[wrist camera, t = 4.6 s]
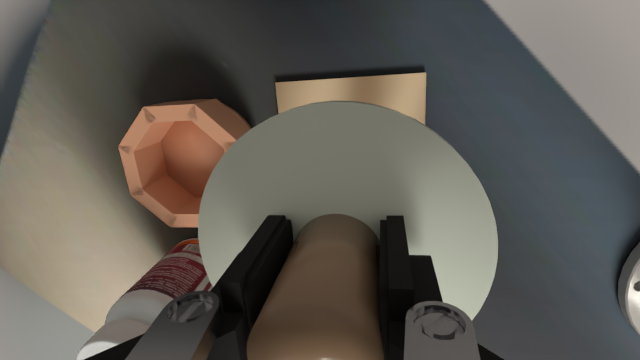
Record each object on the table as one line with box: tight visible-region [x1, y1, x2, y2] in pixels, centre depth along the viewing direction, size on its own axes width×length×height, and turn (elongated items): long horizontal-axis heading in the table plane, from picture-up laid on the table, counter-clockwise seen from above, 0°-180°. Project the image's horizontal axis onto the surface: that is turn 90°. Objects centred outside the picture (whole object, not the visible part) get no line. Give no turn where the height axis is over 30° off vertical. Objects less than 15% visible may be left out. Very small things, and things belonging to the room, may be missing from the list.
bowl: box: [118, 99, 252, 227], centre depth 25 cm, size 8×8×4 cm
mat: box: [275, 72, 426, 125], centre depth 25 cm, size 10×10×1 cm
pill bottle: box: [76, 238, 213, 360], centre depth 25 cm, size 6×6×11 cm
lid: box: [198, 101, 498, 360], centre depth 10 cm, size 10×10×5 cm
